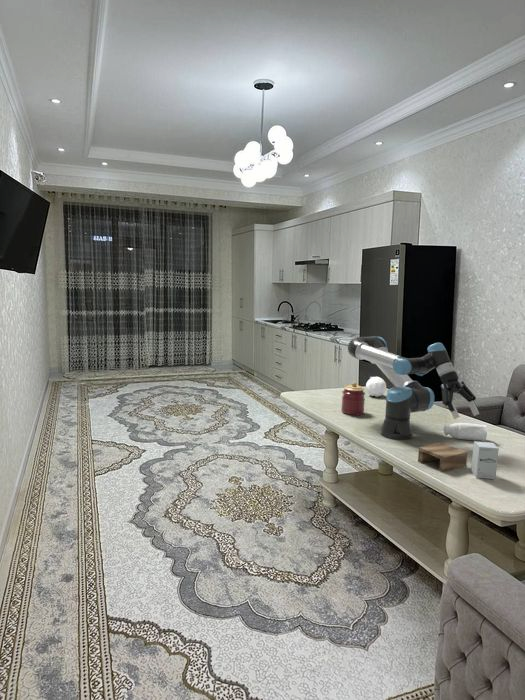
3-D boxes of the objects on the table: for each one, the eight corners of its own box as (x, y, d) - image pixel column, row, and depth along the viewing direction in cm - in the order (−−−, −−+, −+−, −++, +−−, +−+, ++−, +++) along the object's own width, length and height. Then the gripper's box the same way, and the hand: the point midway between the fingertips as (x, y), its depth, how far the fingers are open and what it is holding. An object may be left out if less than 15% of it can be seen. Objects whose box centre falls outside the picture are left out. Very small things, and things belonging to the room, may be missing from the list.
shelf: (417, 461, 204) (419, 447, 203) (440, 456, 211) (441, 442, 210) (443, 471, 193) (444, 457, 192) (466, 466, 200) (467, 452, 199)
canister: (362, 410, 285) (364, 380, 282) (365, 416, 272) (367, 385, 270) (340, 409, 286) (342, 379, 284) (341, 414, 273) (343, 384, 271)
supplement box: (475, 478, 187) (478, 446, 185) (470, 471, 194) (473, 440, 193) (496, 480, 186) (499, 448, 184) (490, 472, 193) (493, 442, 192)
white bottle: (442, 434, 242) (443, 419, 241) (483, 438, 238) (484, 422, 237) (444, 439, 234) (445, 423, 233) (486, 443, 230) (487, 427, 229)
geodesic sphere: (358, 388, 319) (371, 373, 315) (362, 384, 332) (375, 369, 327) (374, 403, 316) (389, 388, 311) (378, 398, 329) (392, 384, 324)
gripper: (434, 372, 218) (454, 416, 210) (471, 368, 231) (490, 410, 222) (423, 379, 224) (442, 422, 216) (459, 375, 236) (478, 416, 228)
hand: (467, 416), depth 219 cm, fingers open, 13 cm apart
